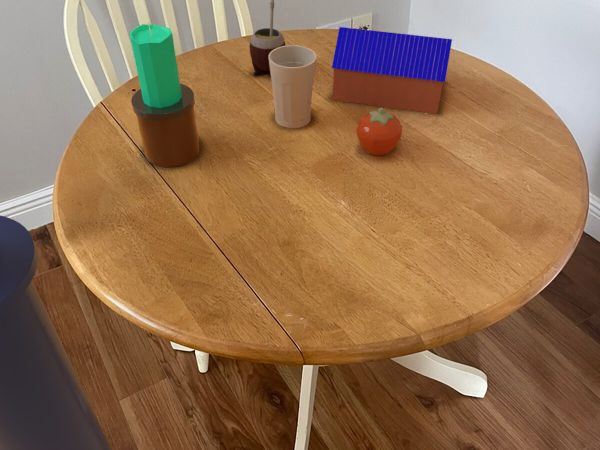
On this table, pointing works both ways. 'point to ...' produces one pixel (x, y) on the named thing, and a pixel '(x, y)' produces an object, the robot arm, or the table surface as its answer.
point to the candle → (156, 65)
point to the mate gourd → (264, 46)
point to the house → (390, 69)
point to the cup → (292, 84)
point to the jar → (168, 130)
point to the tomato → (379, 132)
